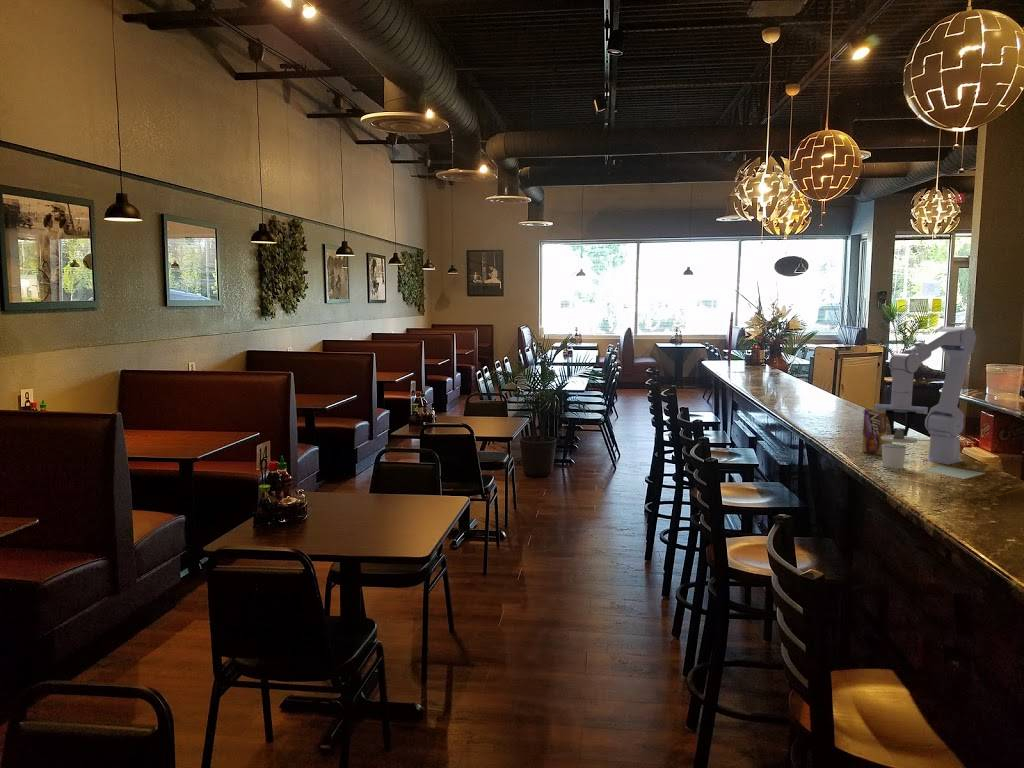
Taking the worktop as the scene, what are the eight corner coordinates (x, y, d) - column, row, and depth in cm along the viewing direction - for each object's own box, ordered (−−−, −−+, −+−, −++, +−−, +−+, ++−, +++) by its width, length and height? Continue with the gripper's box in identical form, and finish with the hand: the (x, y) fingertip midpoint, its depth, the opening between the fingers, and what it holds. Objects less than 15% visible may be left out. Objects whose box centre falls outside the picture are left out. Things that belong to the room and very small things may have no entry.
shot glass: (907, 470, 228) (909, 448, 227) (883, 469, 229) (885, 447, 229) (900, 465, 235) (902, 444, 234) (877, 464, 236) (879, 443, 235)
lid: (891, 436, 237) (892, 425, 237) (923, 441, 229) (924, 429, 229) (874, 439, 232) (875, 427, 231) (906, 444, 223) (907, 432, 223)
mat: (940, 466, 234) (940, 465, 234) (985, 474, 223) (985, 473, 223) (919, 471, 227) (919, 470, 227) (964, 480, 216) (964, 478, 216)
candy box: (892, 455, 251) (895, 410, 249) (883, 456, 249) (886, 411, 247) (869, 450, 259) (872, 407, 257) (861, 451, 257) (863, 408, 255)
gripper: (875, 391, 228) (873, 435, 230) (929, 394, 222) (926, 439, 224) (875, 389, 235) (873, 431, 236) (927, 392, 228) (924, 435, 230)
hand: (898, 435), depth 230 cm, fingers closed on lid, 3 cm apart
